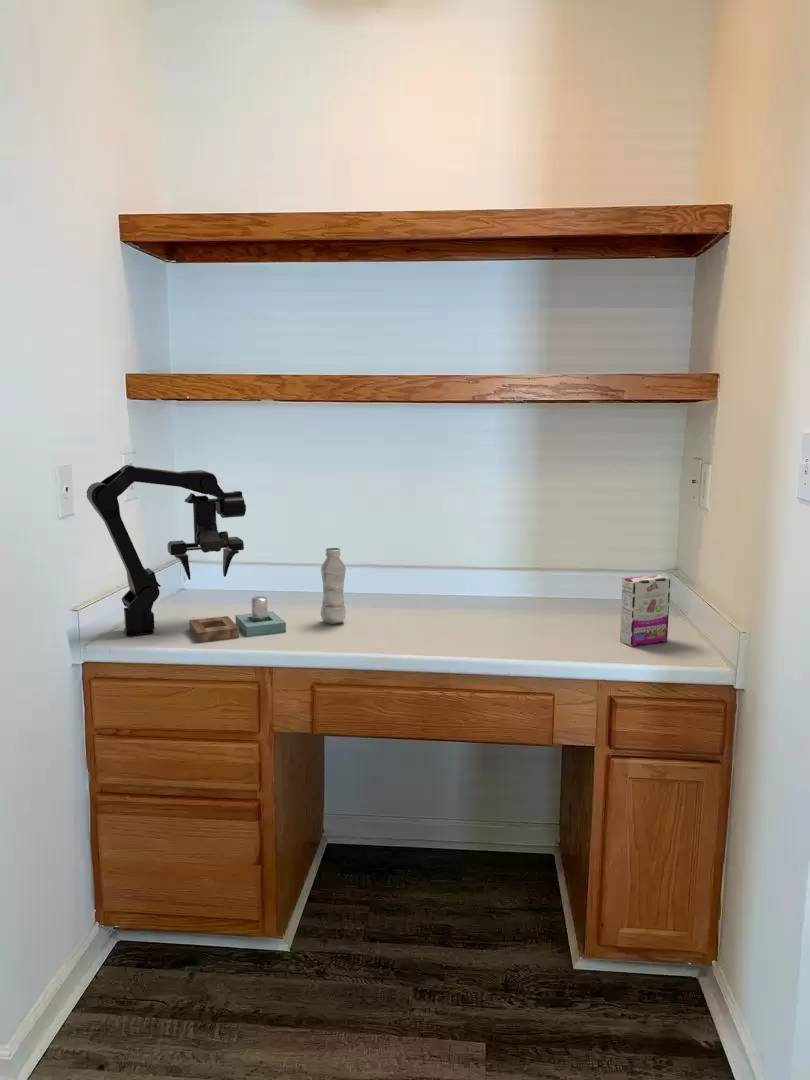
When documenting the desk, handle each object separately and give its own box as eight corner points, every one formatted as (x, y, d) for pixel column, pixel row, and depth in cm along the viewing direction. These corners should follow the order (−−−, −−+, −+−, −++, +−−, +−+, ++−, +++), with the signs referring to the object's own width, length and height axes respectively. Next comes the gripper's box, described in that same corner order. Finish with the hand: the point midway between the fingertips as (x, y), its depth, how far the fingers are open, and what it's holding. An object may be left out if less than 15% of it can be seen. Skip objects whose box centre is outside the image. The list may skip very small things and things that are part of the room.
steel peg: (254, 631, 201) (253, 600, 200) (250, 627, 205) (249, 597, 203) (269, 629, 203) (269, 599, 201) (265, 625, 206) (264, 595, 205)
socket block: (198, 642, 191) (198, 632, 191) (189, 629, 202) (188, 620, 201) (239, 637, 196) (239, 628, 195) (228, 625, 206) (227, 616, 206)
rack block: (247, 636, 196) (247, 627, 196) (235, 624, 207) (235, 615, 207) (285, 632, 201) (285, 622, 200) (272, 620, 211) (272, 611, 211)
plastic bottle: (329, 618, 214) (328, 545, 210) (350, 621, 211) (350, 548, 207) (315, 624, 208) (315, 549, 205) (337, 627, 205) (337, 552, 201)
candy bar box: (654, 636, 199) (658, 573, 196) (667, 642, 195) (672, 577, 192) (617, 641, 195) (621, 577, 192) (630, 647, 191) (635, 581, 188)
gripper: (173, 526, 193) (176, 588, 196) (248, 521, 201) (250, 581, 204) (165, 519, 203) (168, 578, 206) (237, 515, 211) (239, 572, 214)
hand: (207, 578), depth 207 cm, fingers open, 9 cm apart
